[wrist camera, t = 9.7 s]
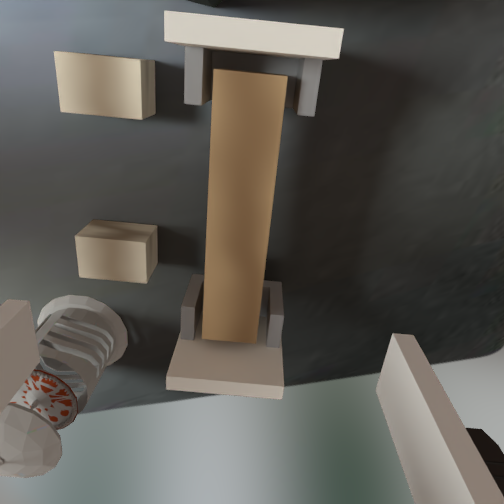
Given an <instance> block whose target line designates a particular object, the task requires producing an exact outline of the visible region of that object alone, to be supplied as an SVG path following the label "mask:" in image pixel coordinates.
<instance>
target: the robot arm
mask: <svg viewBox="0 0 504 504" xmlns="http://www.w3.org/2000/svg"><path fill="white" fill-rule="evenodd" d="M39 362H40V356H39V351H38V345H37V340H36V334H35V329H34V323H33V318H32V312H31V307H30V301H25V300H13V299H7V300H6V301H5V302H4V303H3V304H2V305H1V306H0V414H1V413H2V411H3V410H4V409H5V407H6V406H7V405H8V403H9V402H10V401H11V399H12V398H13V397H14V395H15V394H16V393H17V391H18V390H19V389H20V387H21V386H22V385H23V383H24V382H25V381H26V379H27V378H28V377H29V375H30V374H31V373H32V371H33V370H34V369H35V367H36V366H37V365H38V364H39ZM376 393H377V395H378V398H379V401H380V404H381V407H382V410H383V413H384V416H385V418H386V422H387V424H388V427H389V430H390V433H391V436H392V439H393V442H394V445H395V448H396V450H397V453H398V456H399V459H400V462H401V465H402V468H403V471H404V473H405V476H406V479H407V482H408V485H409V488H410V491H411V494H412V497H413V499H414V502H415V504H504V454H503V452H502V451H501V449H500V447H499V446H498V445H497V444H496V443H495V442H494V441H493V440H492V439H491V438H490V437H489V436H488V435H487V434H486V433H485V432H484V431H483V430H482V429H473V428H465V427H464V425H463V423H462V421H461V419H460V418H459V416H458V414H457V412H456V410H455V409H454V407H453V405H452V403H451V402H450V400H449V398H448V396H447V394H446V393H445V391H444V389H443V387H442V385H441V384H440V382H439V380H438V378H437V377H436V375H435V373H434V371H433V369H432V368H431V366H430V364H429V362H428V360H427V358H426V357H425V355H424V353H423V351H422V349H421V348H420V346H419V344H418V342H417V341H416V339H415V337H414V335H407V334H396V333H393V334H392V337H391V340H390V344H389V347H388V350H387V354H386V357H385V360H384V364H383V367H382V370H381V374H380V377H379V380H378V384H377V387H376Z"/></svg>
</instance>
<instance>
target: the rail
mask: <svg viewBox="0 0 504 504" xmlns="http://www.w3.org/2000/svg"><path fill="white" fill-rule="evenodd" d="M287 79H288V76H286V75H283V74H273V73H263V72H253V71H243V70H233V69H223V68H222V69H214V71H213V94H212V117H211V140H210V162H209V185H208V208H207V231H206V254H205V277H204V299H203V322H202V339H209V340H220V341H231V342H242V343H253V344H256V340H257V332H258V323H259V315H260V307H261V298H262V290H263V281H264V273H265V264H266V256H267V248H268V239H269V231H270V222H271V214H272V205H273V197H274V189H275V180H276V172H277V163H278V155H279V146H280V138H281V129H282V121H283V113H284V104H285V96H286V87H287Z"/></svg>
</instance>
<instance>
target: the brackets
mask: <svg viewBox="0 0 504 504" xmlns="http://www.w3.org/2000/svg"><path fill="white" fill-rule="evenodd" d="M343 31H344V29H341V28H331V27H322V26H312V25H302V24H292V23H282V22H273V21H263V20H253V19H243V18H233V17H223V16H214V15H204V14H194V13H184V12H174V11H164V34H165V41H166V42H170V43H174V44H178V45H182V46H185V80H184V104H192V105H203V104H204V103H206V102H208V101H209V100H212V94H213V71H214V69H222V68H223V69H233V70H243V71H253V72H263V73H273V74H283V75H286V76H288V79H287V87H286V96H285V104H284V107H285V108H293V109H294V111H295V112H296V114H297V115H303V116H313V117H314V115H315V108H316V102H317V95H318V88H319V82H320V75H321V68H322V62H323V60H331V59H339V55H340V49H341V43H342V37H343ZM204 277H205V275H202V274H192V276H191V279H190V282H189V285H188V288H187V291H186V294H185V296H184V299H183V302H182V305H181V331H180V334H179V337H178V340H177V344H176V347H175V350H174V353H173V356H172V359H171V362H170V366H169V369H168V372H167V375H166V389H167V390H178V391H189V392H201V393H212V394H223V395H234V396H246V397H256V398H268V399H280V400H282V397H283V390H284V376H283V359H282V343H281V333H282V327H283V320H284V308H283V295H282V282H277V281H266V280H264V281H263V290H262V298H261V307H260V315H259V323H258V332H257V340H256V344H253V343H242V342H231V341H220V340H209V339H202V322H203V299H204Z"/></svg>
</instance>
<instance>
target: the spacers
mask: <svg viewBox="0 0 504 504" xmlns="http://www.w3.org/2000/svg"><path fill="white" fill-rule="evenodd" d="M54 57H55V65H56V74H57V83H58V92H59V101H60V110H61V112H68V113H78V114H88V115H99V116H109V117H119V118H129V119H139V120H143V119H145V118H147V117H149V116H152V115H154V114H156V104H155V60H145V59H135V58H125V57H115V56H105V55H95V54H85V53H74V52H60V51H54ZM75 242H76V251H77V260H78V269H79V277H82V278H93V279H104V280H115V281H125V282H136V283H147V282H148V280H149V278H150V277H151V275H152V273H153V271H154V269H155V267H156V266H157V264H158V242H157V225H148V224H137V223H126V222H116V221H105V220H95V219H93V220H92V221H91V222H90V223H89V224H88V225H87V226H85V227H84V228H83V229H82V230H81V231H80V232H79V233H78V234H77V235H75Z"/></svg>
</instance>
